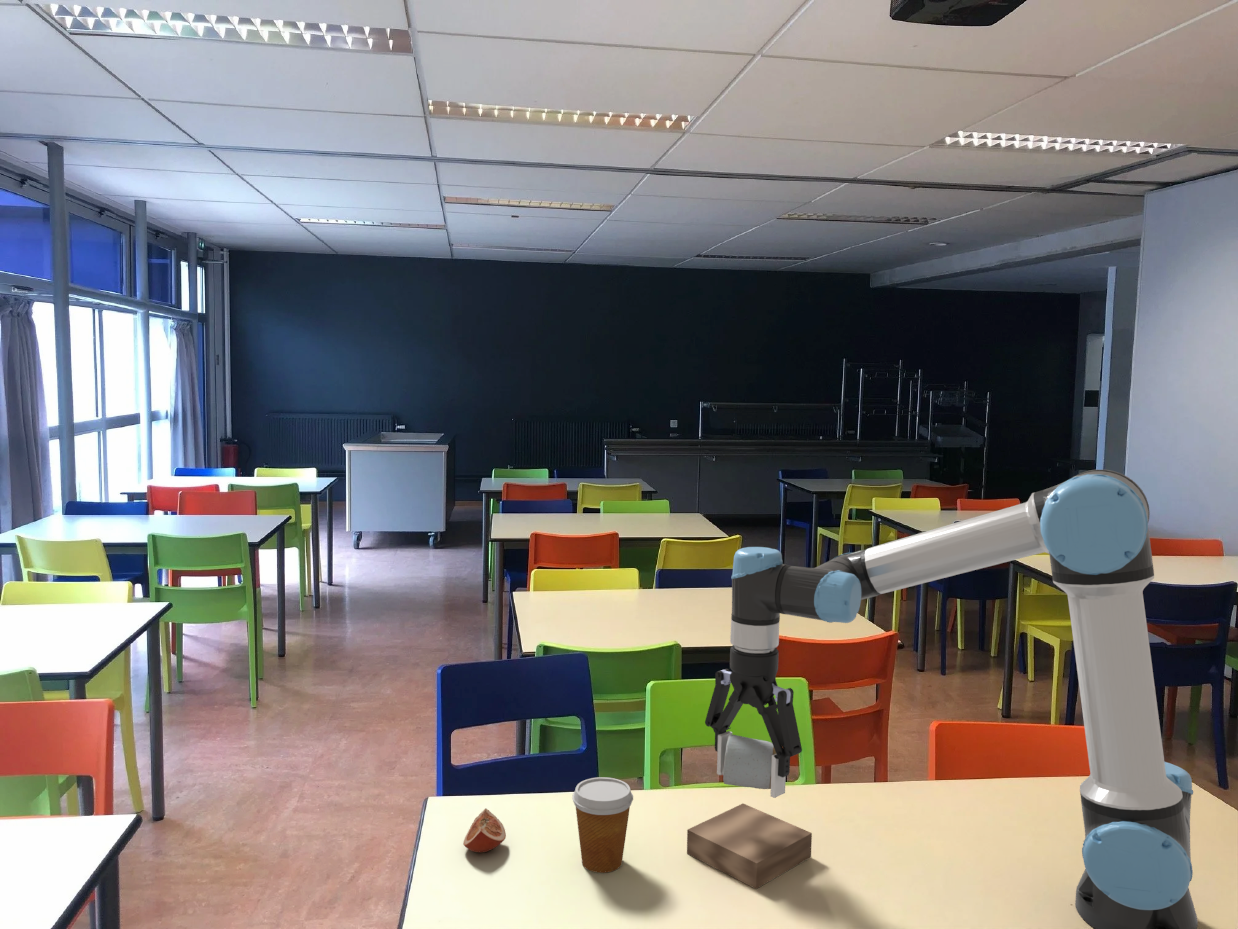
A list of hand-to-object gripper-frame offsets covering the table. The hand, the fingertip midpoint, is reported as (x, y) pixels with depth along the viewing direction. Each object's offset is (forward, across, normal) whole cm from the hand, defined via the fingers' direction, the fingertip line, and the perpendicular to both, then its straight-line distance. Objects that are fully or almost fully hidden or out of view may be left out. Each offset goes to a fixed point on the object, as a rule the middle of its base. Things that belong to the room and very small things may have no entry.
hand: (750, 783), depth 147 cm
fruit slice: (+12, +30, +30) cm, 44 cm away
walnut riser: (+12, 0, 0) cm, 12 cm away
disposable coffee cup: (+12, +14, +19) cm, 27 cm away
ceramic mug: (0, +1, -1) cm, 1 cm away
